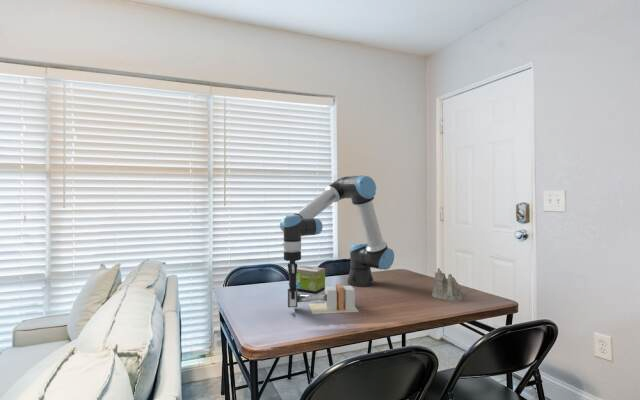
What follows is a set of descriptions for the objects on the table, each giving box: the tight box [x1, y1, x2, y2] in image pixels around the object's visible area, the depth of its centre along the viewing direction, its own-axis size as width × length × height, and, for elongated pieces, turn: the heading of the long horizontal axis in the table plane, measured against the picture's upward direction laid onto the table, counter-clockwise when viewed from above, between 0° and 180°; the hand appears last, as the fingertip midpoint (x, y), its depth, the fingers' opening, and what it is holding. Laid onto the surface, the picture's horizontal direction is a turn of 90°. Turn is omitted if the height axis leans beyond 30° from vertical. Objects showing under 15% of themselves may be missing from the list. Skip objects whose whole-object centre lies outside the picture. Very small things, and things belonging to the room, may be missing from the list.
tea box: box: [296, 265, 326, 295], centre depth 178 cm, size 15×10×15 cm, turn 62°
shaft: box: [287, 288, 327, 308], centre depth 155 cm, size 18×4×7 cm, turn 97°
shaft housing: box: [308, 285, 359, 315], centre depth 156 cm, size 20×14×10 cm
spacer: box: [335, 283, 344, 310], centre depth 157 cm, size 2×8×10 cm, turn 7°
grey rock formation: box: [431, 267, 464, 302], centre depth 179 cm, size 16×16×15 cm
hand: (292, 304), depth 154 cm, fingers closed on shaft, 4 cm apart
